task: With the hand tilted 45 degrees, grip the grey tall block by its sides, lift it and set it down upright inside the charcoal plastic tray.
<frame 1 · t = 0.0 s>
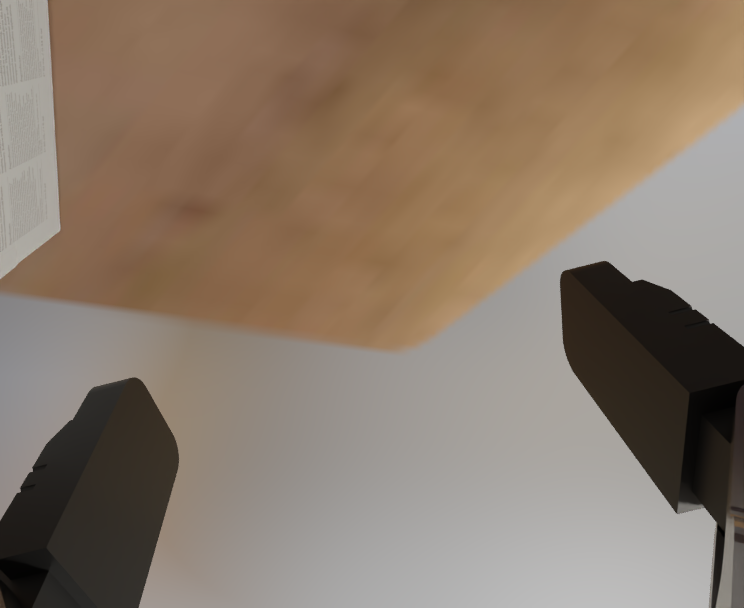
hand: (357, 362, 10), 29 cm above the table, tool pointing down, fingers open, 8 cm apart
skincare box: (7, 67, 33), on the table
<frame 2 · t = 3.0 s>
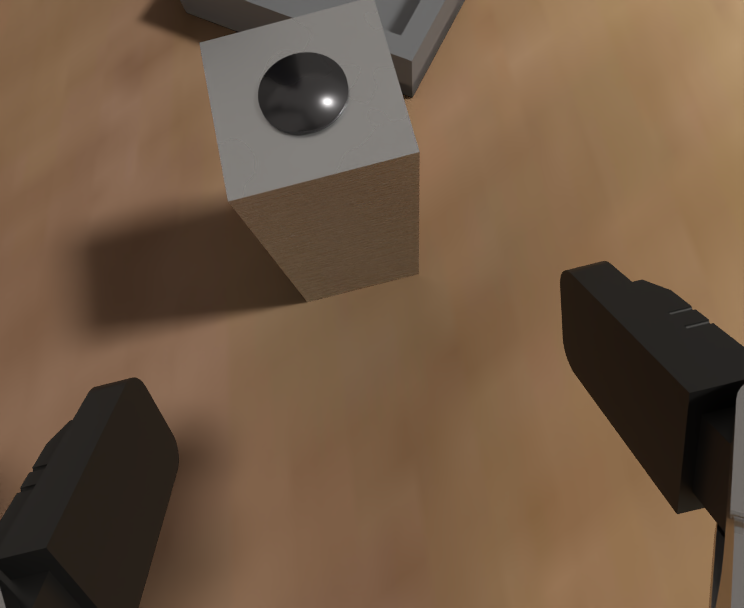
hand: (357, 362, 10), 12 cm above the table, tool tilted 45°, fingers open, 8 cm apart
grey tall block: (350, 236, 24), on the table
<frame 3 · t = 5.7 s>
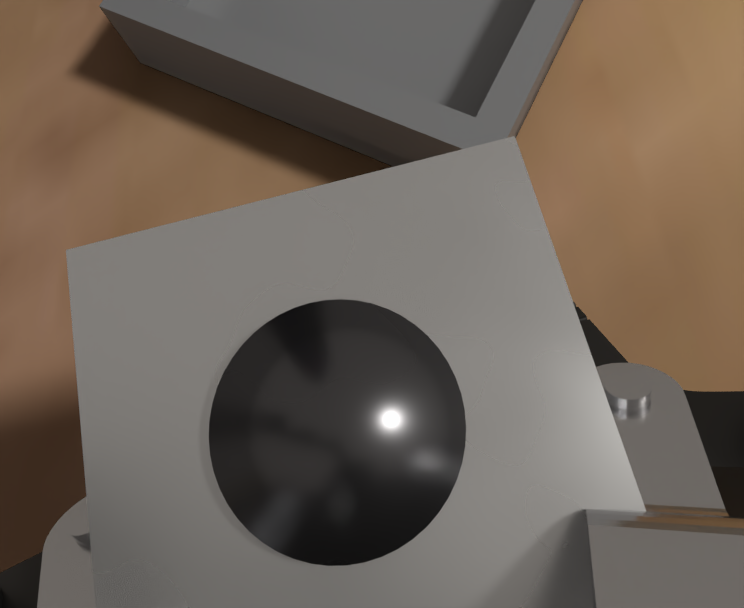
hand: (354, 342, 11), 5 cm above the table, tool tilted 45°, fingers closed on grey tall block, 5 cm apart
grey tall block: (389, 435, 15), on the table, touching gripper
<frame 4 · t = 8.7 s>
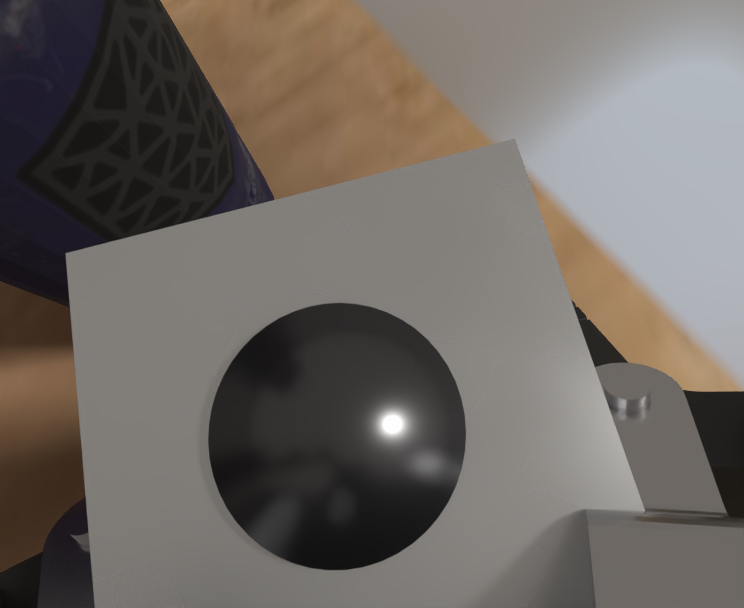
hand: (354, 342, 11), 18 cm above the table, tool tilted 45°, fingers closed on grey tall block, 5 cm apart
grey tall block: (389, 437, 15), point 13 cm above the table, touching gripper
grenade: (172, 241, 32), on the table
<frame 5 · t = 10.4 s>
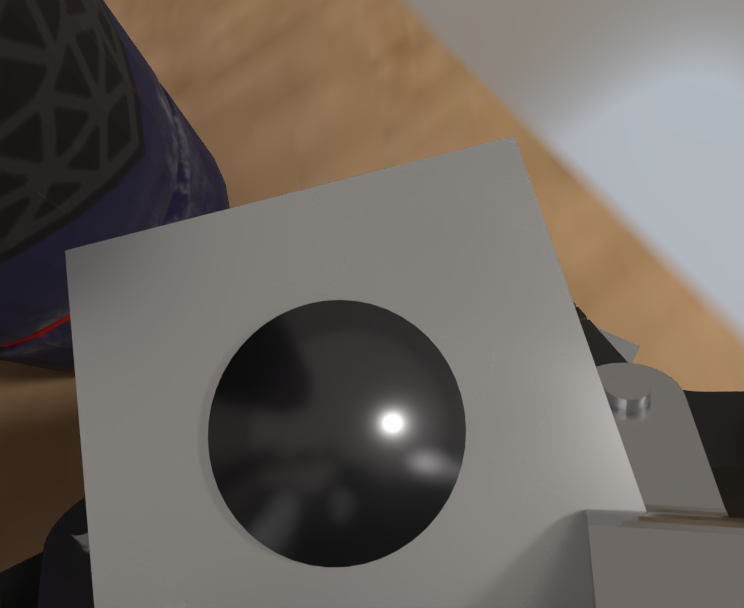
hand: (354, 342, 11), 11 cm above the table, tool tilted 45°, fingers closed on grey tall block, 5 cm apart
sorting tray: (390, 432, 21), on the table
grey tall block: (389, 436, 15), point 6 cm above the table, touching gripper
grenade: (92, 241, 24), on the table
when the fingers open (7 cm above the table, at t = 11.6 s): grey tall block drops 1 cm, resting on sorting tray.
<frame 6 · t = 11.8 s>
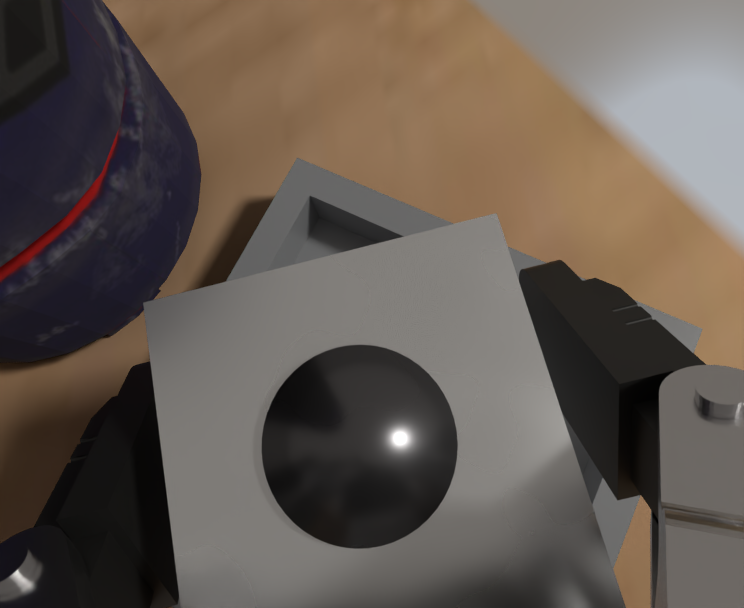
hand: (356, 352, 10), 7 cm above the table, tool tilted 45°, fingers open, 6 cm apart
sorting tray: (392, 437, 17), on the table
grey tall block: (393, 441, 16), point 1 cm above the table, touching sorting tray
grenade: (43, 213, 20), on the table
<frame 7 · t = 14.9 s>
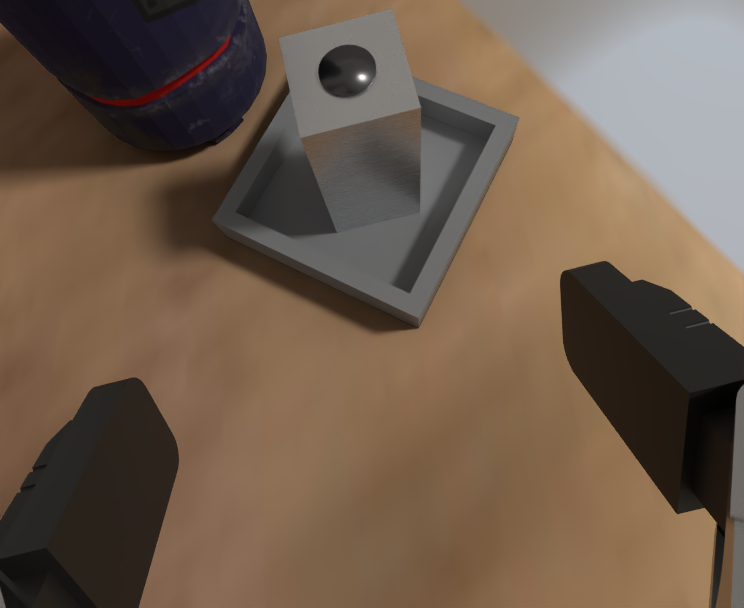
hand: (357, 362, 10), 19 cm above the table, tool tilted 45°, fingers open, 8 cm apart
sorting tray: (369, 189, 32), on the table
grey tall block: (369, 185, 32), point 1 cm above the table, touching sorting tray
grenade: (173, 83, 36), on the table
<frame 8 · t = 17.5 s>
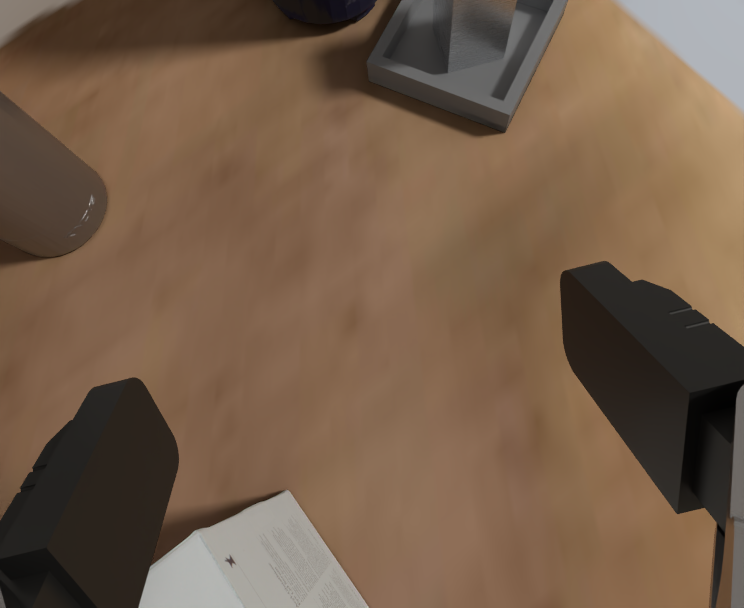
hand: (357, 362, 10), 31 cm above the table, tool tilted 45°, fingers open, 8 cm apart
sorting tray: (466, 47, 47), on the table
grey tall block: (467, 42, 47), point 1 cm above the table, touching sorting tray
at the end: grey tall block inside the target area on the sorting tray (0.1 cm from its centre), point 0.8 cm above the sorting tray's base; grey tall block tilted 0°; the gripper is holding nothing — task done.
